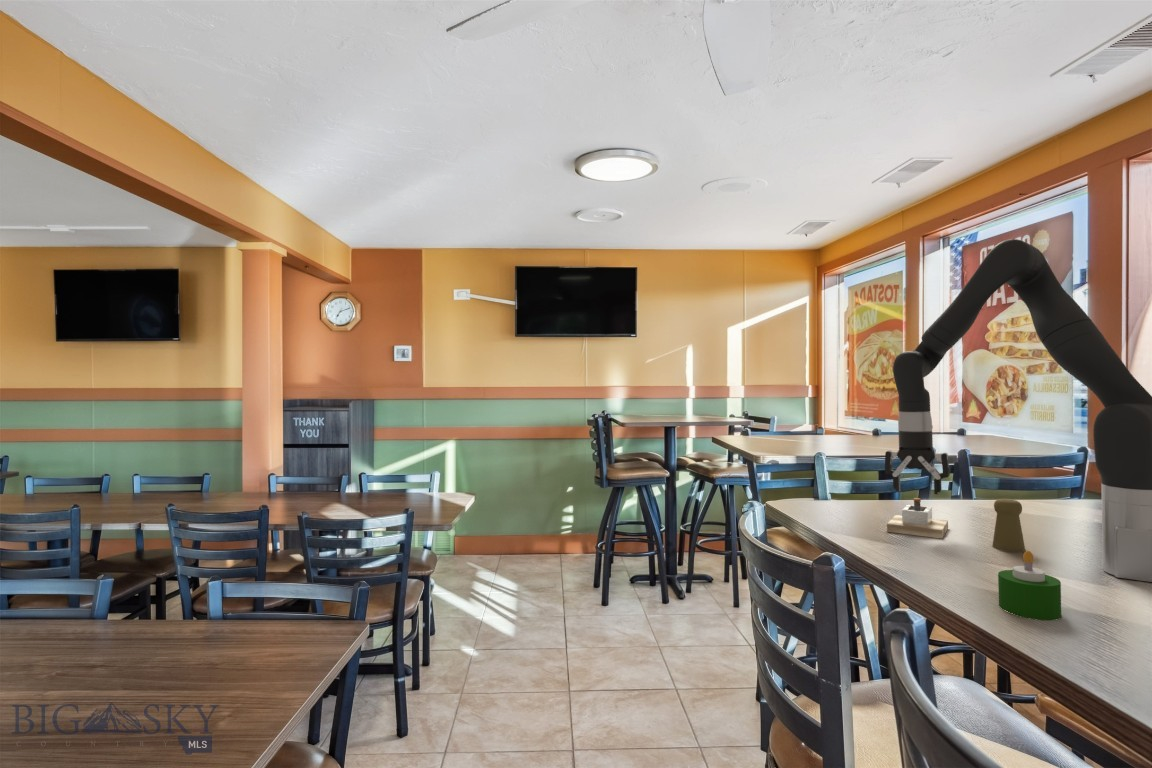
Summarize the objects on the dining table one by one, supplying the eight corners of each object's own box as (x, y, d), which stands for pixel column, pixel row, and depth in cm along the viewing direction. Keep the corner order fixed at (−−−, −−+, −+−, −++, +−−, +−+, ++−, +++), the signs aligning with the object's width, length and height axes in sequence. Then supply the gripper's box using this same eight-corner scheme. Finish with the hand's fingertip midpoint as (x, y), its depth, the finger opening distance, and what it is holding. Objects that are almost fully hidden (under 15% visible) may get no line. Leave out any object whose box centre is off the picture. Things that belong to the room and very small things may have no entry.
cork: (1014, 544, 136) (1013, 496, 136) (1031, 551, 130) (1030, 502, 130) (986, 544, 137) (985, 496, 137) (1002, 551, 131) (1001, 502, 131)
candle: (994, 611, 98) (992, 551, 98) (1003, 597, 104) (1002, 541, 104) (1058, 624, 92) (1056, 561, 92) (1064, 609, 98) (1063, 549, 98)
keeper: (942, 538, 142) (941, 505, 142) (887, 531, 150) (886, 500, 150) (947, 528, 152) (947, 497, 152) (895, 522, 159) (895, 492, 159)
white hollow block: (927, 526, 146) (927, 512, 146) (902, 523, 149) (902, 509, 149) (932, 520, 152) (931, 506, 152) (907, 517, 156) (907, 504, 156)
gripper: (881, 429, 152) (883, 492, 152) (946, 430, 143) (948, 497, 143) (886, 427, 158) (888, 488, 158) (949, 428, 149) (951, 492, 149)
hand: (917, 492), depth 151 cm, fingers open, 8 cm apart
